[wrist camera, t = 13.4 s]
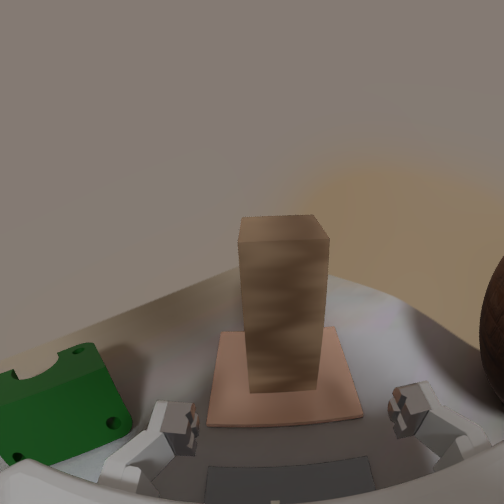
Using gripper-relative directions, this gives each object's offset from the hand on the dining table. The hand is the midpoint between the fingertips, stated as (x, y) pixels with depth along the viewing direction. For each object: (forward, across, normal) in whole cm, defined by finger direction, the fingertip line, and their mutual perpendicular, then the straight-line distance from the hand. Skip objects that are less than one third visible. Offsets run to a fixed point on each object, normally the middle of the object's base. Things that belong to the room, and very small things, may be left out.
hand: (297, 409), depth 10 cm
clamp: (+3, +17, +8) cm, 19 cm away
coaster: (+10, 0, +8) cm, 13 cm away
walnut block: (+10, 0, +8) cm, 13 cm away
